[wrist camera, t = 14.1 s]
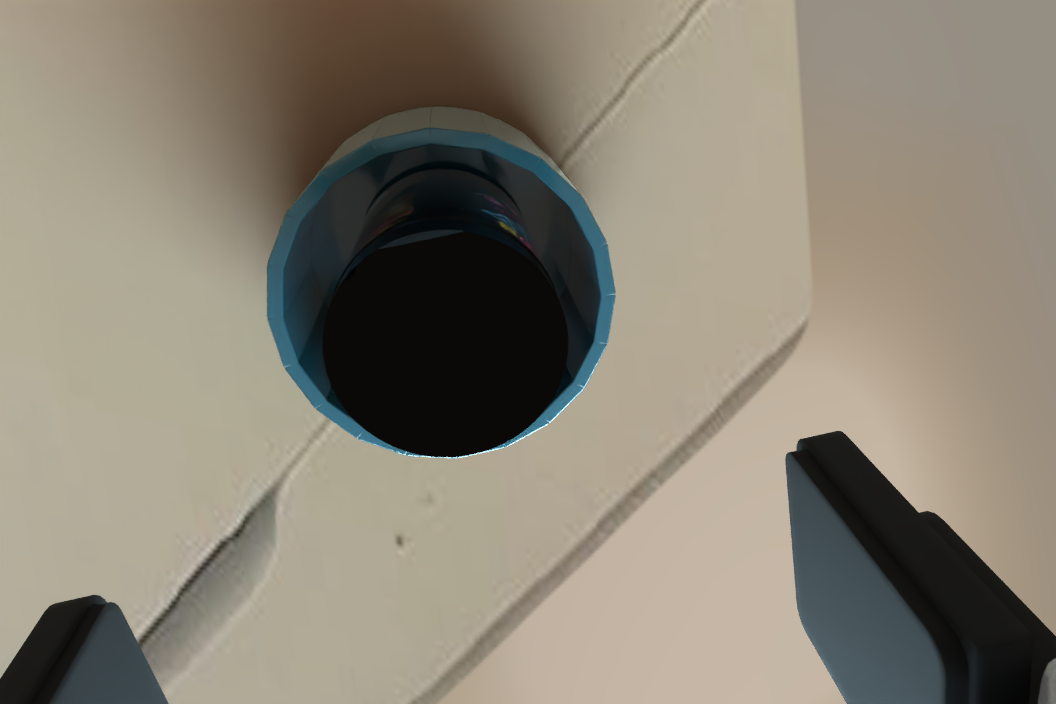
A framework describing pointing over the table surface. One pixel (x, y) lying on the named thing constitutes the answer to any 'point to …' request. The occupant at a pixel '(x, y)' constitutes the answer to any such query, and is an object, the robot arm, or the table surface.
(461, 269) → the supplement container
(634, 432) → the table surface
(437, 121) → the cup
